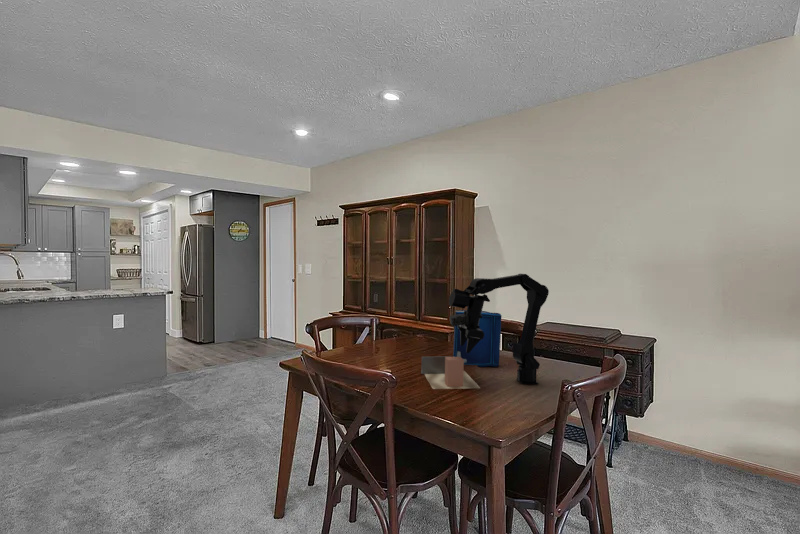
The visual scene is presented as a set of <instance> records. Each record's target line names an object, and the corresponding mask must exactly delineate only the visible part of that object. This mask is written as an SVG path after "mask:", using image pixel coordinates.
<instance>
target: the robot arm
mask: <svg viewBox="0 0 800 534" xmlns="http://www.w3.org/2000/svg"><path fill="white" fill-rule="evenodd" d="M518 285H520V287H521V288H522V289H523V290H524V291H525V292H526V301H527V309H526V314H525V317H524V323H523V327H522V332H521V335H520V339H519V340H518V341H517V342H513V348H512V351H511V353H512V357H513V359H514V360H515V363H516V365H518V369H517V370H516V381H518V382H519V383H520V384H522V385H538V384H539V382H538V381H537V370H539V368H540V365H541V364H540V362H539V361H538V360H537V359H536V358H535V347H534V338H535V335H536V331H537V330H536V329H537V326H538V321H539V317H540V312H541V308H542V307H543V305H544V304H545V303H546V301H547V300H548V299H547V298H548V296H549V293H550V291H549V289H548V287H547V286H546V285H545V284H541V283H540V282H539V281H537V280H535V279H533V278H532V277H530V275H528V274H527V273H518V274H514V275H506V276H502V277H501V276H500V277H495V278H485V277H484V278H478V277H475V278H473V279H471V281H470V283H469V285H468V286H466V288H465V289H463V290H462V289H461V290H460V289H458V288H453V289H452V291H451V293H450V295H449V297H448V305H449V307H455V308H458V309H459V308H460V309H464V310H465V311H464V313H463V314H458V315H455V314H453V315H449V323H450V325H451V326H452V327H454V326H457V325H458V326H457V327H458V329H459V330H460V345H461V346H463V345H464V344H465V342H466V341H467V349H466V352H467V353H470V351H471V350H472V349H473V348H474V347H475V345H476V344H477V343H478V342H479V341H480V340H482V339H483V338H484V332H483V331H482V330H481V329H479V327H480V326H479V325H478V324H479V320H480V318H482V315H481V312H482V311H483V308H484V304H485V302H486V303H488V302H491V300H490V298H489V297H488V295H487V294H488V293H491V292H492V291H494V290H497V289H499V288H500V289H501V288H502V289H503V288H507V287H508V288H509V287H512V286H518ZM480 294H481V295H480Z"/></svg>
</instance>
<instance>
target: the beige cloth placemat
mask: <svg viewBox="0 0 800 534" xmlns="http://www.w3.org/2000/svg"><path fill="white" fill-rule="evenodd" d="M424 376H425V378H426V380H427V382H428V383H429V385H430V387H431V388H432V389H433V390H454V389H455V390H456V389H457V390H458V389H459V390H462V389H463V390H465V389H466V390H467V389H469V390H470V389H481V387H480V386H479V385H478V383H477V382H476V381H475V380H474V379H473V378H472V377H471V376H470V375H469V374H468V372H466V371H465V370H464V371H463V386H458V387H447V385H446V384H445V374H424Z"/></svg>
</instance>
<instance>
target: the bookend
mask: <svg viewBox="0 0 800 534" xmlns="http://www.w3.org/2000/svg"><path fill="white" fill-rule="evenodd" d="M445 357H451V356H450V355H449V356H445V355H444V356H442V355H441V356H440V355H439V356H421V370H420V373H421V374H422V375H425V374H445Z"/></svg>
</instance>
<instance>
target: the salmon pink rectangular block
mask: <svg viewBox="0 0 800 534" xmlns="http://www.w3.org/2000/svg"><path fill="white" fill-rule="evenodd" d="M464 366H465V365H464V360H463V359H462V358H461V357H453V356H450V357H445V384H446V385H447V387H458V386H463V371H465V370H464V368H465V367H464Z"/></svg>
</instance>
